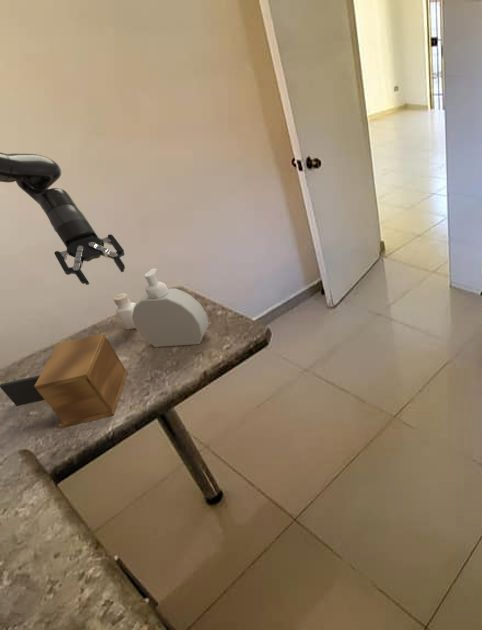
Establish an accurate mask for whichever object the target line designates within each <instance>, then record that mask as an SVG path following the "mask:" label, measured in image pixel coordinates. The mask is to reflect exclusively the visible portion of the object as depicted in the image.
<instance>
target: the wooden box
mask: <svg viewBox="0 0 482 630" xmlns="http://www.w3.org/2000/svg"><path fill="white" fill-rule="evenodd" d="M38 376H39V375H38ZM127 377H128V371H127V370H126V368H125V366H124V364H123V363H122V361H121V360H120V358H119V356H118V354H117V353H116V351H115V350H114V348H113V346H112V345H111V343H110V342H109V340H108V338H107V336H106V335H105V334H104V333H101V334H96V335H92V336H91V335H90V336H86V337H81V338H77V339H76V338H75V339H72V340H66V341H62V342H58V343H57V344H56V346H55V348H54V349H53V351H52V353H51V355H50V356H49V359H48V361H47V362H46V364H45V366H44V368H43V369H42V371H41V372H40V376H39V378H38V380H37V382H36V384H35V385H34V387H35V388H36V389H37V391H38V392H39V393H40V394H41V396H42V397H43V398H44V399H45V400H44V401H45V402H46V403H47V405H48V406H49V408H51V410H52V411H53V412H54V413H55V414H56V417H58V418H59V420H60V421H59V423H58V426H59V427H60V429H64V428H68V427H72V426H75V425H76V426H77V425H80V424H84V423H88V422H91V421H92V422H93V421H95V420H101V419H104V418H109V417H111V416H115V414H116V410H117V407H118V404H119V402H120V397H121V394H122V392H123V388H124V385H125V382H126V378H127Z"/></svg>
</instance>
